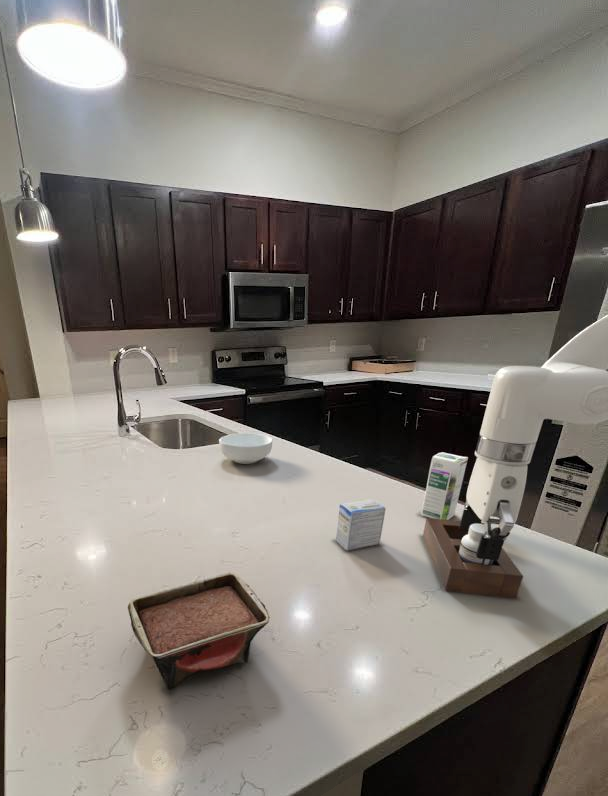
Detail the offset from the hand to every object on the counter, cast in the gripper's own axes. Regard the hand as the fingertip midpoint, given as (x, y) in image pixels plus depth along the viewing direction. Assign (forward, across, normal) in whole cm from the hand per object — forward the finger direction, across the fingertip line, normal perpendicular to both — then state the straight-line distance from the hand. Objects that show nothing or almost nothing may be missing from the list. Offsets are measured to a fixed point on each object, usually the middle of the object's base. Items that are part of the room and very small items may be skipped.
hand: (477, 543), depth 72 cm
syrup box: (+7, +25, 0) cm, 26 cm away
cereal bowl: (+8, +56, +51) cm, 76 cm away
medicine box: (+7, +8, +19) cm, 22 cm away
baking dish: (+7, -27, +43) cm, 51 cm away
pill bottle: (+7, 0, 0) cm, 7 cm away
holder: (+7, +4, 0) cm, 8 cm away
